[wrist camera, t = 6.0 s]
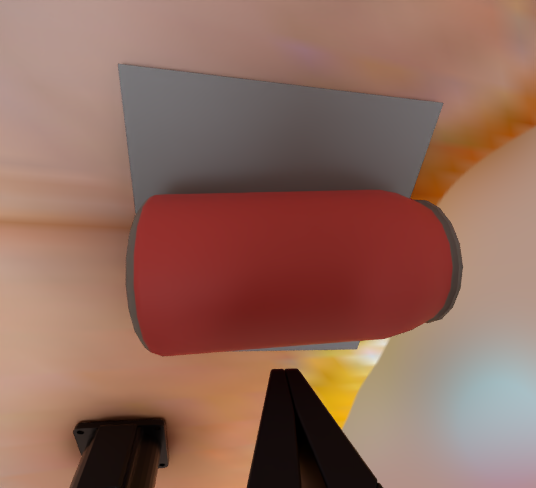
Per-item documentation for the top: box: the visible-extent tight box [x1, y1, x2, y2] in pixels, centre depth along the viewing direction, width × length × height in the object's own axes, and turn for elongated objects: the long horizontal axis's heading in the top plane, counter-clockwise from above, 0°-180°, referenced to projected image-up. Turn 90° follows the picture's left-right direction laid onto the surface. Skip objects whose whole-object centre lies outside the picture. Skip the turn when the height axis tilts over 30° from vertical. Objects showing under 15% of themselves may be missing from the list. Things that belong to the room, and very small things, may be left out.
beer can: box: [126, 190, 463, 356], centre depth 13 cm, size 7×7×12 cm
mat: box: [118, 64, 443, 352], centre depth 16 cm, size 16×14×1 cm
